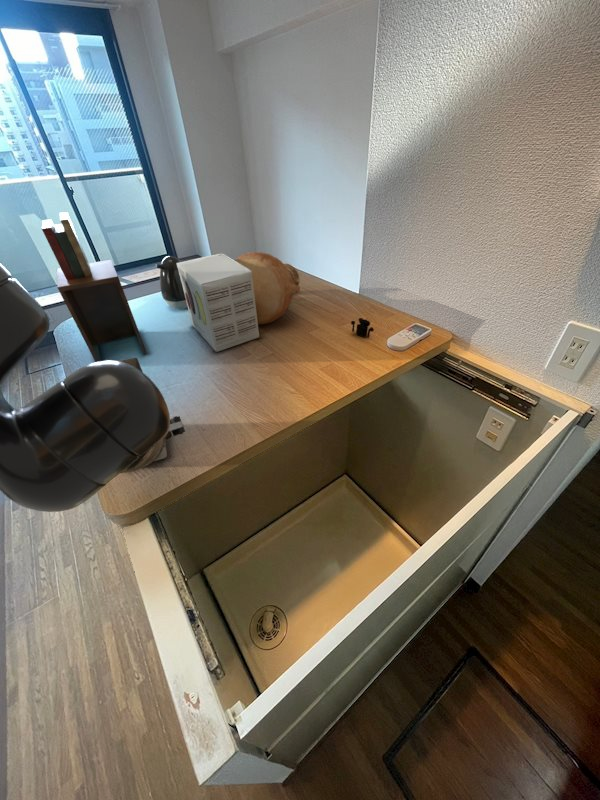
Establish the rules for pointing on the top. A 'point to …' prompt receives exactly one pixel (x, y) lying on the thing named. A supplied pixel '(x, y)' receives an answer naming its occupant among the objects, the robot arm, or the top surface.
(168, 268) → the pump dispenser
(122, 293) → the shelf
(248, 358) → the top surface
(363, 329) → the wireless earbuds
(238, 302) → the supplement box
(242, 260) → the jug
